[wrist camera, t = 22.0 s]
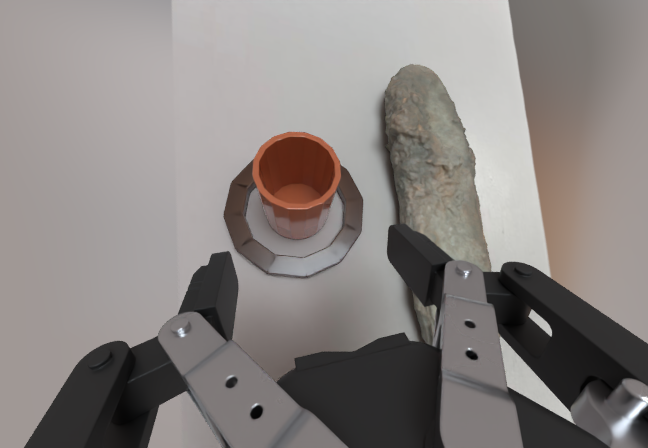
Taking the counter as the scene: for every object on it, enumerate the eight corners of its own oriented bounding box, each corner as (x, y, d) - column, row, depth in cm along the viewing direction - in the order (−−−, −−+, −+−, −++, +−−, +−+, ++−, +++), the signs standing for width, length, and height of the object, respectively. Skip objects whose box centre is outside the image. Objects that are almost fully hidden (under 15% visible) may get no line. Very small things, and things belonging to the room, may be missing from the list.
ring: (256, 300, 23) (254, 300, 22) (210, 178, 27) (207, 172, 26) (382, 243, 26) (386, 241, 25) (327, 139, 30) (328, 133, 29)
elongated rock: (399, 375, 24) (491, 366, 25) (430, 398, 19) (542, 385, 20) (369, 75, 33) (438, 83, 34) (385, 36, 28) (465, 47, 29)
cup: (279, 249, 25) (271, 222, 17) (257, 194, 27) (240, 146, 19) (337, 225, 27) (355, 190, 18) (312, 174, 28) (319, 122, 20)
